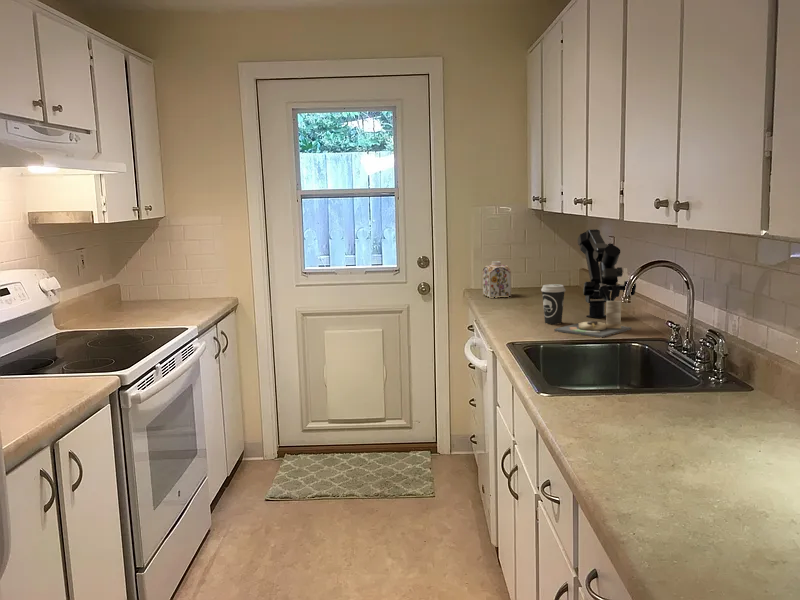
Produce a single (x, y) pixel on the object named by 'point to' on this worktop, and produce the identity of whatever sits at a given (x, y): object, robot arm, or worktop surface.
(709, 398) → the worktop surface
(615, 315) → the beige boot
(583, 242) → the robot arm
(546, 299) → the coffee cup
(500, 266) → the decorative jar
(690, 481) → the worktop surface
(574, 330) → the board
